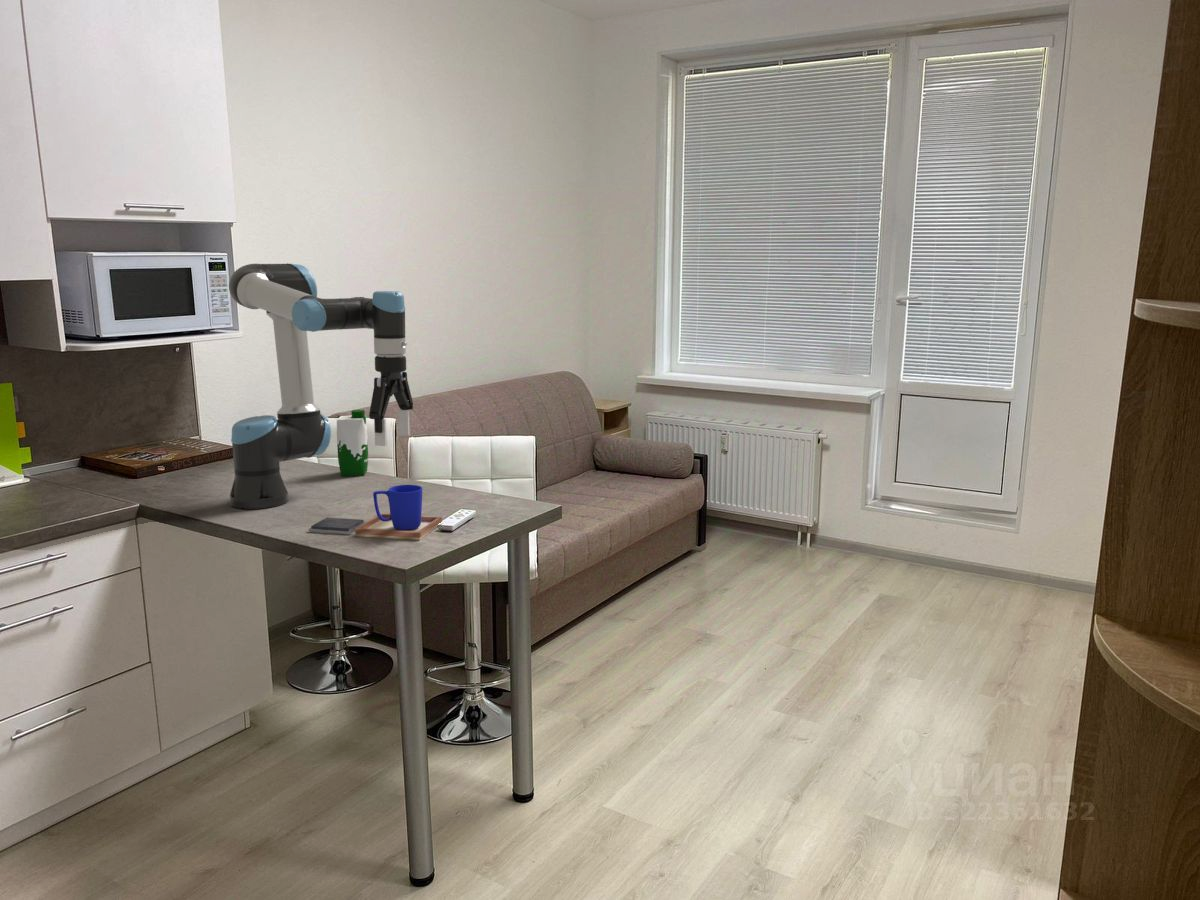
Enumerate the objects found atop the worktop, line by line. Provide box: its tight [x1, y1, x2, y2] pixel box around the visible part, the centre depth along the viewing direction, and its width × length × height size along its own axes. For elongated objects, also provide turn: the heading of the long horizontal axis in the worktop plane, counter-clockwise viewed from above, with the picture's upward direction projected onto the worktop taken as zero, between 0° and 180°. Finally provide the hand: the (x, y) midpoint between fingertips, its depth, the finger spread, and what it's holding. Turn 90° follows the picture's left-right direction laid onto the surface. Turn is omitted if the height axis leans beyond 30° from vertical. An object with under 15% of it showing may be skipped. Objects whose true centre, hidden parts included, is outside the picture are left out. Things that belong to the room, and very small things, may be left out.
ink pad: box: [308, 517, 366, 535], centre depth 227 cm, size 11×9×1 cm
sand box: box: [354, 512, 443, 541], centre depth 225 cm, size 17×15×2 cm
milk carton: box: [336, 409, 369, 477], centre depth 285 cm, size 9×9×20 cm
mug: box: [372, 484, 423, 530], centre depth 224 cm, size 8×12×10 cm
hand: (392, 440), depth 227 cm, fingers open, 13 cm apart
